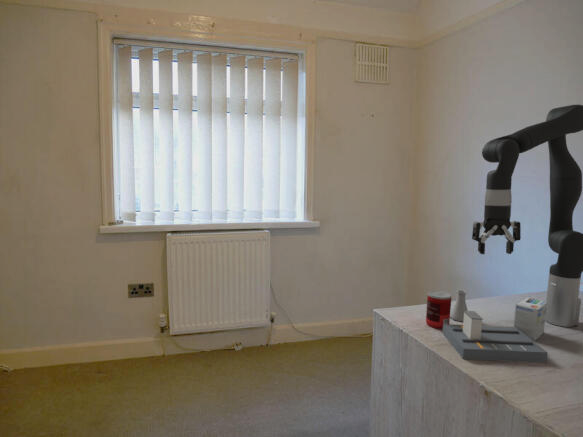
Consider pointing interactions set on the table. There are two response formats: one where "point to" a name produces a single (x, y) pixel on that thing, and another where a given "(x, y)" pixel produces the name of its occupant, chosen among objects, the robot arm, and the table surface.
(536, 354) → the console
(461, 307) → the flask
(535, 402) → the table surface
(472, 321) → the tall grey rectangular block
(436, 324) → the canned food
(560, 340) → the table surface
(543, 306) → the light bulb box
